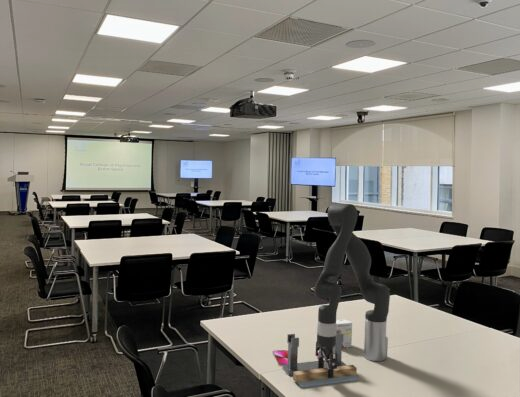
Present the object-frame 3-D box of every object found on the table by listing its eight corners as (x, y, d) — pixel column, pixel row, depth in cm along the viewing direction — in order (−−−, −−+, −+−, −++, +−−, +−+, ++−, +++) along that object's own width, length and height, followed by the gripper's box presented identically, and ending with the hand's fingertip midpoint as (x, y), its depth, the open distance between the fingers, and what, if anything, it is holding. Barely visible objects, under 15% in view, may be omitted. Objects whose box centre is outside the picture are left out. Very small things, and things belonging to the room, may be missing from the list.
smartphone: (278, 365, 184) (271, 350, 199) (278, 367, 185) (271, 352, 199) (295, 364, 186) (287, 350, 200) (295, 366, 186) (287, 352, 201)
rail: (352, 371, 179) (352, 364, 178) (356, 375, 176) (356, 367, 176) (293, 379, 171) (293, 371, 171) (296, 382, 168) (296, 374, 168)
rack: (338, 361, 190) (339, 328, 189) (346, 368, 183) (347, 334, 183) (282, 368, 182) (283, 333, 182) (288, 375, 176) (289, 339, 175)
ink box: (335, 348, 205) (336, 323, 205) (330, 344, 210) (331, 320, 209) (351, 347, 208) (352, 322, 207) (346, 343, 212) (347, 319, 212)
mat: (347, 371, 181) (347, 369, 181) (357, 380, 173) (357, 378, 173) (292, 377, 174) (292, 375, 174) (301, 387, 166) (301, 385, 166)
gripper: (344, 338, 167) (342, 380, 168) (327, 326, 180) (326, 364, 181) (326, 339, 165) (324, 382, 165) (310, 327, 178) (309, 366, 179)
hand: (325, 373), depth 173 cm, fingers open, 8 cm apart
